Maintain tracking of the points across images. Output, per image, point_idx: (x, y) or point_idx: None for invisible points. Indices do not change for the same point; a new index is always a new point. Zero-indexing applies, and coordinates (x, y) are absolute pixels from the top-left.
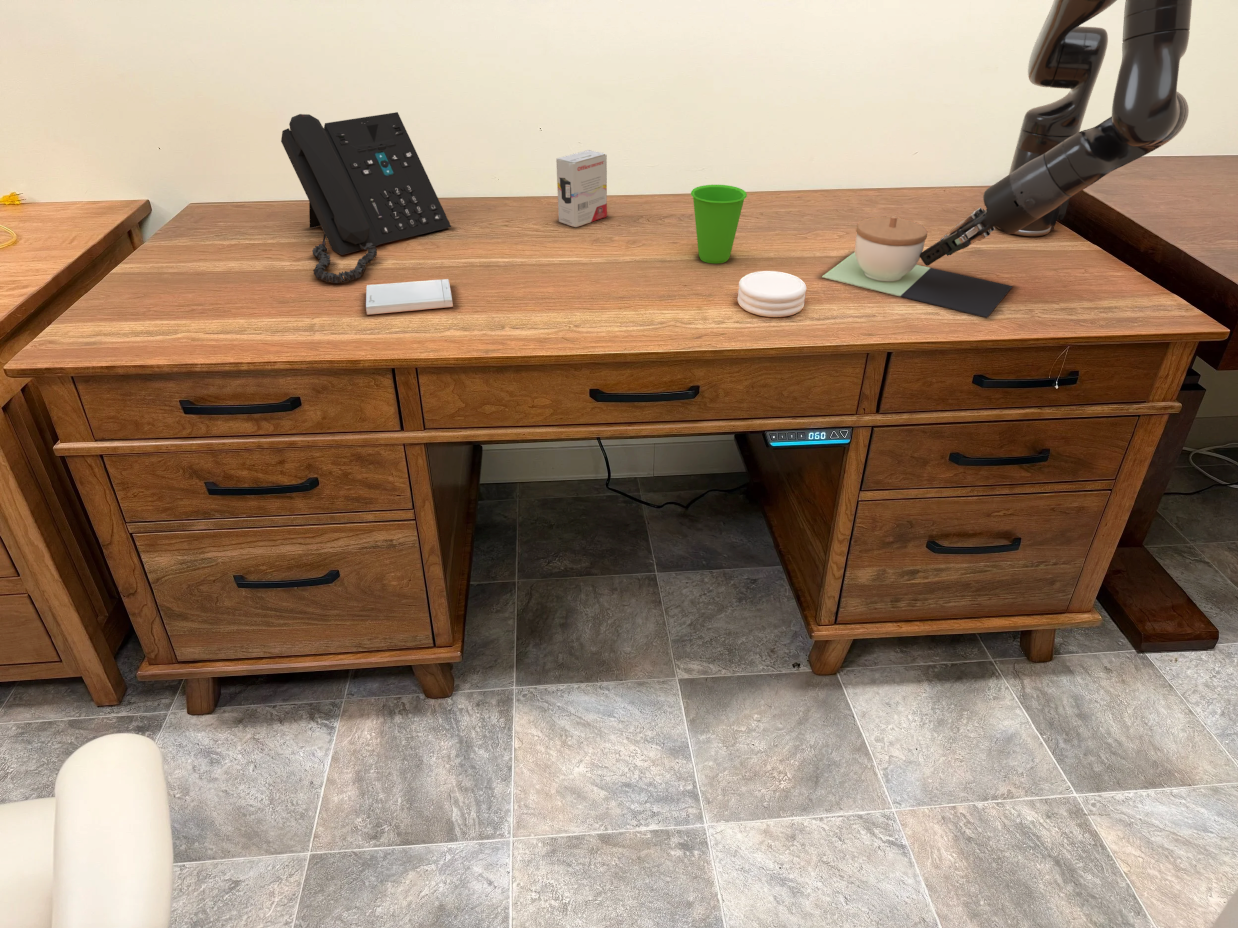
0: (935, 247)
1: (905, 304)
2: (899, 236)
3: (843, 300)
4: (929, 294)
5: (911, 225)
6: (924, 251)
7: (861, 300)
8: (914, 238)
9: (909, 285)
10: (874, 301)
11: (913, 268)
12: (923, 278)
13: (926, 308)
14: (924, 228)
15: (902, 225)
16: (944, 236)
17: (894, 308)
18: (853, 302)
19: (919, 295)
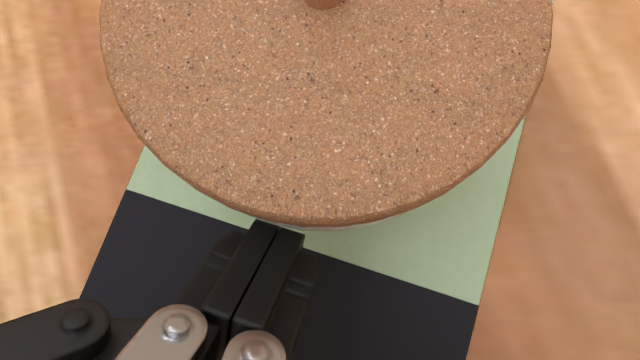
0: (194, 291)
1: (62, 211)
2: (135, 40)
3: (58, 6)
4: (165, 301)
5: (387, 104)
6: (245, 236)
7: (69, 61)
8: (143, 136)
9: (240, 219)
10: (69, 103)
11: (440, 230)
12: (337, 274)
13: (38, 291)
14: (365, 196)
15: (366, 47)
16: (248, 346)
17: (18, 173)
18: (47, 37)
19: (143, 260)
